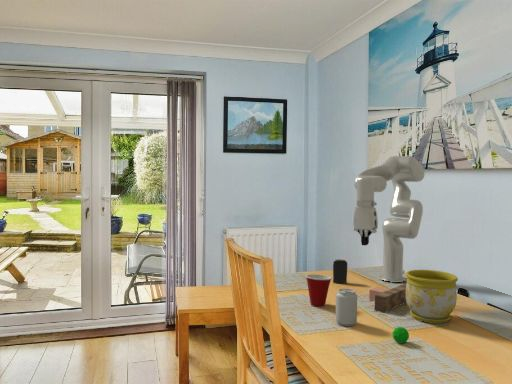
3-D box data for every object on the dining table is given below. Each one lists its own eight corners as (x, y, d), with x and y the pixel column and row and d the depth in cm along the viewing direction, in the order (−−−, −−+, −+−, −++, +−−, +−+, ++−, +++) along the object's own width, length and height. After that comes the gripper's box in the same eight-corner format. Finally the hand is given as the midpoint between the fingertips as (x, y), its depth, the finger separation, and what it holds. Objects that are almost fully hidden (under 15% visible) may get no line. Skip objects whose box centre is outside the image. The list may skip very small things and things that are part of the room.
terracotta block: (375, 298, 190) (376, 287, 190) (393, 302, 185) (393, 290, 184) (369, 301, 186) (369, 289, 185) (386, 305, 180) (387, 293, 180)
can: (344, 328, 152) (345, 294, 152) (331, 321, 159) (331, 288, 159) (361, 324, 156) (361, 291, 155) (347, 318, 163) (348, 286, 162)
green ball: (399, 346, 137) (400, 331, 137) (389, 340, 141) (389, 326, 141) (412, 344, 139) (412, 329, 139) (401, 338, 143) (401, 324, 143)
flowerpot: (396, 317, 164) (397, 274, 164) (416, 307, 177) (417, 267, 177) (445, 330, 152) (447, 283, 151) (462, 318, 165) (464, 275, 165)
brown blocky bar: (405, 296, 193) (406, 283, 193) (414, 298, 190) (415, 284, 190) (374, 310, 173) (375, 295, 172) (384, 312, 170) (384, 297, 170)
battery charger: (346, 281, 218) (347, 259, 217) (347, 283, 214) (347, 260, 214) (332, 281, 219) (332, 258, 218) (332, 283, 215) (333, 259, 214)
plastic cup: (335, 303, 181) (336, 274, 180) (324, 310, 172) (325, 280, 171) (311, 299, 187) (312, 271, 186) (300, 305, 178) (300, 276, 177)
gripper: (384, 204, 194) (384, 245, 195) (354, 202, 204) (354, 241, 205) (376, 206, 188) (376, 248, 190) (346, 204, 198) (346, 244, 199)
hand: (364, 244), depth 197 cm, fingers closed
